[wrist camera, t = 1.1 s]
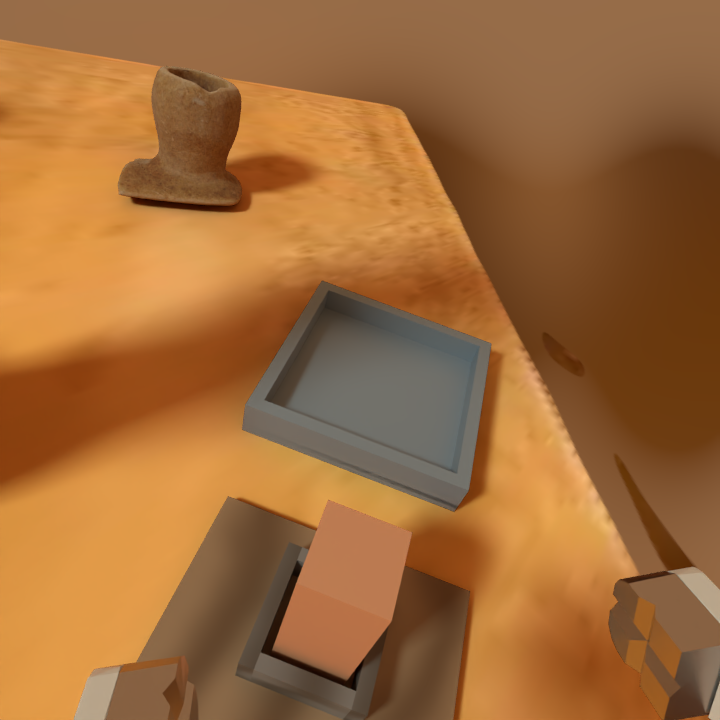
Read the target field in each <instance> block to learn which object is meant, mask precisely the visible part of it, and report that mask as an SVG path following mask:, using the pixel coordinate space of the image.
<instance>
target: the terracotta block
mask: <svg viewBox="0 0 720 720" xmlns="http://www.w3.org/2000/svg"><path fill="white" fill-rule="evenodd" d="M411 536H412V532H410V531H407V530H404V529H402V528H399V527H397V526H394V525H392V524H389V523H386V522H384V521H381V520H379V519H376V518H374V517H371V516H369V515H366V514H363V513H361V512H358V511H356V510H353V509H351V508H348V507H345V506H343V505H340V504H338V503H335V502H333V501H330V500H328V502H327V505H326V507H325V510H324V512H323V515H322V518H321V520H320V523H319V525H318V528H317V531H316V533H315V536H314V538H313V541H312V544H311V546H310V549H309V551H308V554H307V557H306V559H305V562H304V564H303V567H302V570H301V572H300V575H299V578H298V580H297V583H296V585H295V588H294V591H293V594H292V597H291V599H290V602H289V605H288V608H287V610H286V613H285V616H284V619H283V621H282V624H281V627H280V630H279V633H278V635H277V638H276V641H275V644H274V646H273V649H272V652H271V655H270V656H271V657H273V658H276V659H278V660H281V661H283V662H286V663H288V664H291V665H293V666H295V667H298V668H300V669H303V670H305V671H308V672H310V673H313V674H315V675H318V676H320V677H323V678H325V679H327V680H330V681H332V682H335V683H337V684H340V685H342V686H343V685H344V684H345V682H346V681H347V680H348V678H349V677H350V676H351V675H352V673H353V672H354V671H355V669H356V668H357V667H358V665H359V664H360V663H361V661H362V660H363V659H364V657H365V656H366V655H367V653H368V652H369V651H370V649H371V648H372V647H373V645H374V644H375V643H376V641H377V640H378V639H379V637H380V636H381V635H382V633H383V632H384V631H385V629H386V628H387V627H388V625H389V624H390V623H391V621H392V617H393V613H394V609H395V605H396V600H397V596H398V592H399V587H400V583H401V579H402V574H403V570H404V566H405V562H406V557H407V553H408V549H409V544H410V540H411Z"/></svg>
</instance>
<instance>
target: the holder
mask: <svg viewBox="0 0 720 720" xmlns="http://www.w3.org/2000/svg"><path fill="white" fill-rule="evenodd" d="M315 533H316V531H315V530H313V529H310V528H308V527H305V526H303V525H300V524H298V523H295V522H292V521H290V520H287V519H285V518H282V517H280V516H277V515H275V514H272V513H270V512H267V511H264V510H262V509H259V508H257V507H254V506H252V505H249V504H247V503H244V502H242V501H239V500H237V499H234V498H231V497H229V496H228V497H227V499H226V501H225V503H224V505H223V506H222V508H221V510H220V512H219V514H218V515H217V517H216V519H215V521H214V523H213V524H212V526H211V528H210V530H209V532H208V533H207V535H206V537H205V539H204V541H203V543H202V544H201V546H200V548H199V550H198V552H197V553H196V555H195V557H194V559H193V561H192V562H191V564H190V566H189V568H188V570H187V571H186V573H185V575H184V577H183V579H182V581H181V582H180V584H179V586H178V588H177V590H176V591H175V593H174V595H173V597H172V599H171V600H170V602H169V604H168V606H167V608H166V609H165V611H164V613H163V615H162V617H161V619H160V620H159V622H158V624H157V626H156V628H155V629H154V631H153V633H152V635H151V637H150V638H149V640H148V642H147V644H146V646H145V647H144V649H143V651H142V653H141V655H140V657H139V658H138V660H137V662H143V661H150V660H157V659H164V658H171V657H178V656H185V658H186V661H187V663H188V666H189V672H188V679H187V681H189V682H190V683H192V684H194V686H195V690H196V693H197V700H198V720H453V718H454V711H455V703H456V695H457V688H458V680H459V672H460V665H461V657H462V649H463V642H464V634H465V626H466V619H467V611H468V603H469V596H470V591H468V590H465V589H463V588H460V587H458V586H455V585H453V584H450V583H448V582H445V581H442V580H440V579H437V578H435V577H432V576H430V575H427V574H425V573H422V572H420V571H417V570H414V569H412V568H409V567H407V566H404V570H403V574H402V579H401V583H400V587H399V592H398V596H397V600H396V605H395V609H394V613H393V617H392V621H391V623H390V624H389V625H388V627H387V628H386V629H385V631H384V632H383V633H382V635H381V636H380V637H379V639H378V640H377V641H376V643H375V644H374V645H373V647H372V648H371V649H370V651H369V652H368V653H367V655H366V656H365V657H364V659H363V660H362V661H361V663H360V664H359V665H358V667H357V668H356V669H355V671H354V672H353V673H352V675H351V676H350V677H349V678H348V680H347V681H346V682H345V684H344V685H343V686H342V685H340V684H337V683H335V682H332V681H330V680H327V679H325V678H323V677H320V676H318V675H315V674H313V673H310V672H308V671H305V670H303V669H300V668H298V667H295V666H293V665H291V664H288V663H286V662H283V661H281V660H278V659H276V658H273V657H271V656H270V655H271V652H272V649H273V646H274V644H275V641H276V638H277V635H278V633H279V630H280V627H281V624H282V621H283V619H284V616H285V613H286V610H287V608H288V605H289V602H290V599H291V597H292V594H293V591H294V588H295V585H296V583H297V580H298V578H299V575H300V572H301V570H302V567H303V564H304V562H305V559H306V557H307V554H308V551H309V549H310V546H311V544H312V541H313V538H314V536H315Z"/></svg>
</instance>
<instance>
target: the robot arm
mask: <svg viewBox="0 0 720 720" xmlns="http://www.w3.org/2000/svg"><path fill="white" fill-rule="evenodd" d="M613 595H614V596H615V597H616V599H617V600H618V603H617V604H616V605H615V606H614V607H613V608H612V609H611V610H610V616H609V628H610V633H611V637H612V640H613V643H614V645H615V647H616V649H617V651H618V653H619V655H620V656H621V658H622V659H623V661H624V663H625V664H627V665H628V666H630V667H631V668H633V669H634V670H636V671H638V672H639V673H640V687H641V689H642V690H643V692H644V694H645V695H646V697H647V698H648V700H649V701H650V703H651V704H652V706H653V707H654V709H655V710H656V712H657V713H658V715H659V716H660V718H661V720H679V719H685V718H691V717H697V716H703V715H709V716H708V718H710V719H711V720H720V590H719V589H718V587H716V585H715V584H714V583H713V582H712V581H710V579H709V578H708V577H707V576H706V575H705V574H704V573H703V572H702V571H701V570H699V569H697V568H695V567H689V568H683V569H677V570H672V571H662V572H657V573H652V574H647V575H641V576H636V577H630V578H625V579H620V580H619V581H618V582H617V583H616V584H615V587H614V592H613ZM188 672H189V666H188V663H187V661H186V658H185V656H178V657H171V658H164V659H157V660H150V661H143V662H136V663H129V664H123V665H117V666H110V667H104V668H98V669H94V670H93V672H92V673H91V675H90V676H89V678H88V679H87V682H86V685H85V688H84V691H83V694H82V697H81V699H80V702H79V705H78V708H77V711H76V714H75V717H74V720H198V700H197V693H196V690H195V686H194V684H192V683H190V682H189V681H187V679H188Z"/></svg>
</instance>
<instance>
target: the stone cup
mask: <svg viewBox="0 0 720 720" xmlns="http://www.w3.org/2000/svg"><path fill="white" fill-rule="evenodd" d="M152 108H153V114H154V119H155V124H156V129H157V133H158V139H159V152H158V154H157V156H156V157H154V158H153V159H135V160H134V161H133V162H129V163H128V164H126V165H125V167H124V168H123V170H122V173H121V175H120V178H119V182H118V189H119V195H123V196H128V197H136V198H144V199H151V200H159V201H169V202H178V203H189V204H200V205H220V206H229V205H235V204H237V203H238V202H239V201H240V199H241V195H242V188H241V185H240V182H239V181H238V180H237V178H236V177H235V176H234V175H232V174H231V173H229V172H227V171H226V161H227V157H228V154H229V151H230V149H231V147H232V145H233V142H234V140H235V137H236V135H237V131H238V128H239V121H240V112H241V95H240V93H239V91H238V89H237V88H236V87H235V86H234V85H233V84H232V83H230V82H229V81H227V80H225V79H223V78H221V77H219V76H216V75H213V74H210V73H206V72H203V71H198V70H193V69H188V68H181V67H168V66H166V67H161V68H160V69H159V70H158V72H157V75H156V77H155V80H154V84H153V89H152Z"/></svg>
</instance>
